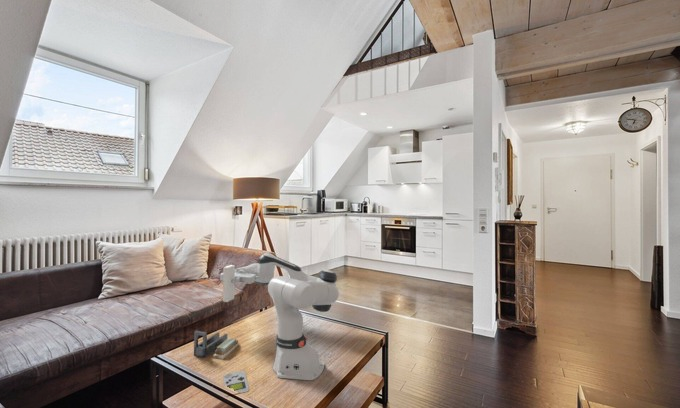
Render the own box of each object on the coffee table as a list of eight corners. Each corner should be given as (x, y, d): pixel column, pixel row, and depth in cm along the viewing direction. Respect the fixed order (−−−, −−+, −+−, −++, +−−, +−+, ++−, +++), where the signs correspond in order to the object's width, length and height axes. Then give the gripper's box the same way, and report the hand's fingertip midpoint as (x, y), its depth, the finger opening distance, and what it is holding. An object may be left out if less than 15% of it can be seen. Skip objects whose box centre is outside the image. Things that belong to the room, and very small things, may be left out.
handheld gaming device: (244, 369, 130) (249, 390, 116) (244, 371, 130) (249, 392, 116) (222, 374, 126) (225, 395, 113) (222, 375, 126) (225, 397, 113)
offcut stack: (239, 345, 152) (239, 336, 152) (222, 359, 138) (222, 350, 138) (230, 344, 153) (230, 335, 153) (213, 358, 140) (213, 348, 139)
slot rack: (227, 341, 155) (227, 320, 155) (204, 357, 139) (205, 333, 139) (217, 339, 157) (217, 318, 156) (193, 355, 141) (194, 331, 141)
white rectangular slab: (234, 298, 162) (234, 265, 162) (227, 302, 156) (227, 267, 156) (230, 297, 163) (230, 264, 162) (223, 301, 157) (223, 267, 157)
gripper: (260, 282, 170) (245, 289, 156) (229, 278, 176) (213, 285, 162) (260, 271, 170) (246, 277, 156) (229, 267, 176) (213, 273, 162)
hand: (229, 281), depth 159 cm, fingers closed on white rectangular slab, 2 cm apart
